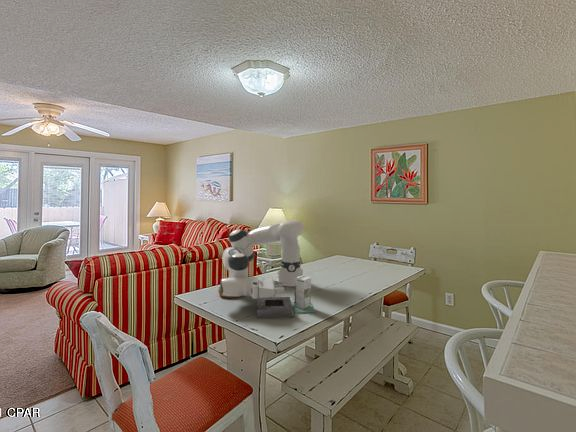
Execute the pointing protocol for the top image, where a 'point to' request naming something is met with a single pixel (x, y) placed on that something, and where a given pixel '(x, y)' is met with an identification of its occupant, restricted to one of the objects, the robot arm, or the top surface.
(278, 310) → the iron collar
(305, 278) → the syrup box
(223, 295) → the croissant
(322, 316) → the top surface
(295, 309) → the rubber mat
